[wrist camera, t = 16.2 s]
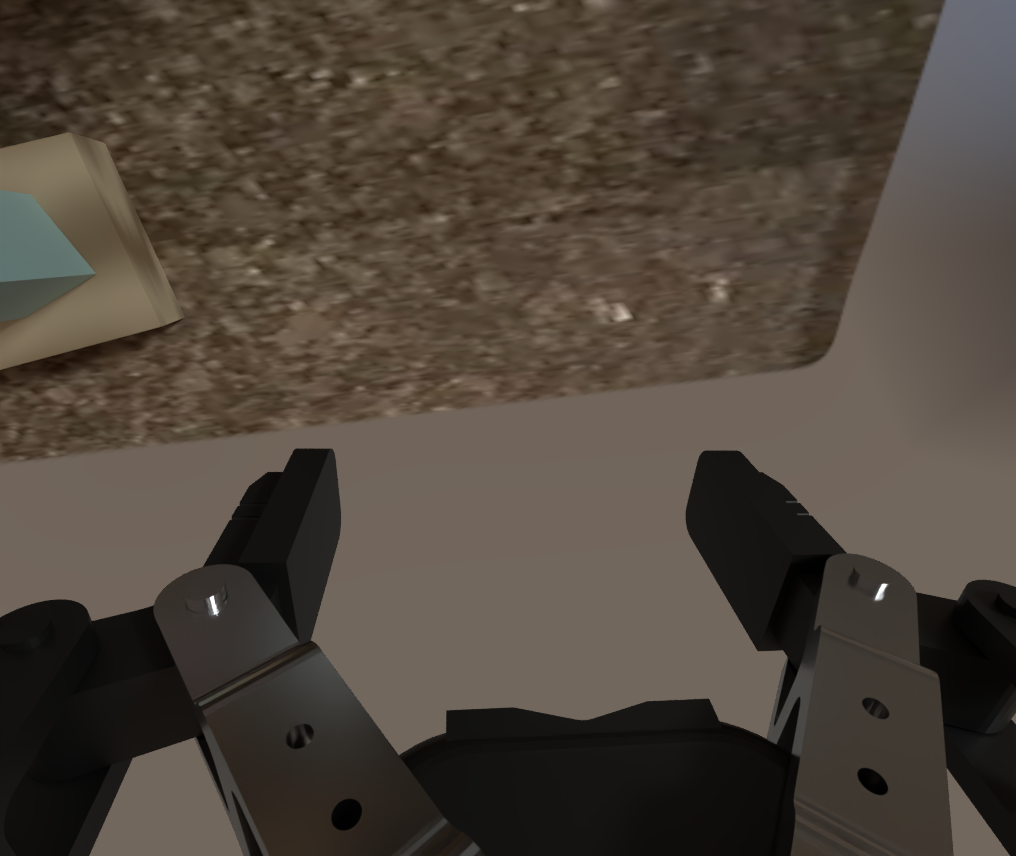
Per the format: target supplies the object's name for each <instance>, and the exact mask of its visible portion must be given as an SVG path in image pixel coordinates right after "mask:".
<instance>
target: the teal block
mask: <svg viewBox="0 0 1016 856" xmlns="http://www.w3.org/2000/svg"><path fill="white" fill-rule="evenodd" d="M95 274H96V273H95V272H94V270H93V269H92V268H91V267H90V266H89V264H88V263H87V262H86V261H85V259H84V258H83V257H82V256H81V255H80V253H79V252H78V251H77V250H76V249H75V247H74V246H73V245H72V244H71V243H70V241H69V240H68V239H67V238H66V236H65V235H64V234H63V233H62V232H61V230H60V229H59V228H58V227H57V226H56V224H55V223H54V222H53V221H52V220H51V218H50V217H49V216H48V215H47V213H46V212H45V211H44V210H43V209H42V207H41V206H40V205H39V204H38V203H37V201H36V200H35V199H34V198H33V197H32V195H31V194H25V193H18V192H11V191H3V190H0V322H2V321H8V320H13V319H18V318H24V317H27V316H28V315H30V314H31V313H33V312H35V311H36V310H38V309H40V308H41V307H43V306H45V305H46V304H48V303H49V302H51V301H53V300H54V299H56V298H58V297H59V296H61V295H63V294H64V293H66V292H67V291H69V290H71V289H72V288H74V287H76V286H77V285H79V284H81V283H82V282H84V281H85V280H87V279H89V278H90V277H92V276H94V275H95Z"/></svg>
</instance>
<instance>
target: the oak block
mask: <svg viewBox="0 0 1016 856" xmlns="http://www.w3.org/2000/svg"><path fill="white" fill-rule="evenodd" d="M0 190H3V191H11V192H18V193H25V194H31V195H32V197H33V198H34V199H35V200H36V201H37V203H38V204H39V205H40V206H41V207H42V209H43V210H44V211H45V212H46V213H47V215H48V216H49V217H50V218H51V220H52V221H53V222H54V223H55V224H56V226H57V227H58V228H59V229H60V230H61V232H62V233H63V234H64V235H65V236H66V238H67V239H68V240H69V241H70V243H71V244H72V245H73V246H74V247H75V249H76V250H77V251H78V252H79V253H80V255H81V256H82V257H83V258H84V259H85V261H86V262H87V263H88V264H89V266H90V267H91V268H92V269H93V270H94V272H95V273H96V274H95V275H94V276H92V277H90V278H89V279H87V280H85V281H84V282H82V283H81V284H79V285H77V286H76V287H74V288H72V289H71V290H69V291H67V292H66V293H64V294H63V295H61V296H59V297H58V298H56V299H54V300H53V301H51V302H49V303H48V304H46V305H45V306H43V307H41V308H40V309H38V310H36V311H35V312H33V313H31V314H30V315H28V316H27V317H24V318H18V319H13V320H8V321H2V322H0V370H1V369H5V368H9V367H13V366H16V365H20V364H24V363H28V362H31V361H35V360H39V359H42V358H46V357H50V356H54V355H57V354H61V353H65V352H69V351H72V350H76V349H80V348H83V347H87V346H91V345H95V344H98V343H102V342H106V341H110V340H113V339H117V338H121V337H124V336H128V335H132V334H136V333H139V332H143V331H147V330H151V329H154V328H158V327H162V326H164V325H167V324H170V323H172V322H175V321H177V320H180V319H183V318H185V317H184V315H183V313H182V311H181V309H180V306H179V304H178V302H177V300H176V298H175V295H174V293H173V291H172V289H171V287H170V285H169V282H168V280H167V278H166V276H165V274H164V271H163V269H162V267H161V265H160V263H159V261H158V258H157V256H156V254H155V252H154V250H153V247H152V245H151V243H150V241H149V239H148V237H147V234H146V232H145V230H144V228H143V226H142V223H141V221H140V219H139V217H138V215H137V213H136V210H135V208H134V206H133V204H132V202H131V199H130V197H129V195H128V193H127V191H126V189H125V186H124V184H123V182H122V180H121V178H120V175H119V173H118V171H117V169H116V167H115V165H114V162H113V160H112V158H111V156H110V154H109V151H108V149H107V147H106V145H105V143H102V142H99V141H96V140H93V139H89V138H86V137H83V136H80V135H76V134H73V133H70V132H69V133H64V134H60V135H56V136H52V137H48V138H43V139H39V140H35V141H31V142H26V143H22V144H18V145H14V146H9V147H5V148H1V149H0Z"/></svg>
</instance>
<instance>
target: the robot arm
mask: <svg viewBox="0 0 1016 856" xmlns="http://www.w3.org/2000/svg"><path fill="white" fill-rule="evenodd" d="M686 525H687V529H688V532H689V535H690V537H691V538H692V540H693V542H694V544H695V545H696V547H697V549H698V551H699V552H700V554H701V556H702V557H703V559H704V561H705V562H706V564H707V566H708V568H709V569H710V571H711V573H712V574H713V576H714V578H715V579H716V581H717V583H718V585H719V586H720V588H721V590H722V591H723V593H724V595H725V596H726V598H727V600H728V602H729V603H730V605H731V607H732V608H733V610H734V612H735V613H736V615H737V617H738V618H739V620H740V622H741V624H742V625H743V627H744V629H745V630H746V632H747V633H748V635H749V637H750V639H751V640H752V642H753V644H754V645H755V647H756V649H757V650H758V651H776V650H777V651H778V650H783V651H784V652H785V654H786V655H787V659H786V662H785V664H784V667H783V670H782V673H781V677H780V682H779V686H778V691H777V695H776V699H775V704H774V708H773V713H772V717H771V722H770V726H769V730H768V735H767V739H765V738H763V737H762V736H760V735H758V734H755V733H753V732H750V731H748V730H746V729H743V728H740V727H737V726H734V725H730V724H728V723H724V722H720V721H719V720H718V717H717V715H716V713H715V711H714V709H713V706H712V704H711V702H710V700H709V699H691V700H669V701H647V702H644V703H641V704H637V705H635V706H631V707H628V708H625V709H622V710H619V711H616V712H612V713H609V714H606V715H603V716H600V717H597V718H594V719H590V720H575V719H570V718H565V717H559V716H555V715H550V714H544V713H539V712H534V711H529V710H524V709H518V708H491V709H470V710H449V711H447V714H446V733H444V734H441V735H438V736H435V737H432V738H430V739H427V740H426V741H423V742H421V743H419V744H417V745H415V746H413V747H412V748H410V749H408V750H407V751H405V752H403V753H402V754H400V755H398V754H397V752H396V751H395V750H394V748H393V747H392V746H391V744H390V743H389V741H388V740H387V739H386V738H385V736H384V734H383V733H382V732H381V730H380V729H379V728H378V726H377V725H376V724H375V722H374V721H373V720H372V718H371V717H370V715H369V714H368V713H367V711H366V710H365V709H364V707H363V706H362V704H361V703H360V702H359V700H358V699H357V698H356V696H355V695H354V694H353V692H352V691H351V689H350V688H349V687H348V685H347V684H346V683H345V681H344V680H343V678H342V677H341V676H340V674H339V673H338V672H337V670H336V669H335V668H334V666H333V665H332V663H331V662H330V661H329V659H328V658H327V657H326V655H325V654H324V652H323V651H322V650H321V649H320V647H319V646H318V645H317V644H316V643H314V642H313V641H311V637H312V634H313V630H314V626H315V623H316V619H317V616H318V612H319V609H320V605H321V601H322V598H323V594H324V591H325V587H326V584H327V580H328V576H329V573H330V569H331V566H332V562H333V558H334V555H335V551H336V548H337V544H338V540H339V536H340V528H341V508H340V498H339V488H338V478H337V469H336V459H335V454H334V451H333V449H295V450H294V451H293V453H292V455H291V457H290V459H289V461H288V463H287V465H286V467H285V469H284V471H283V472H267V473H266V474H265V475H263V476H262V477H261V478H260V479H258V480H257V481H255V483H253V484H252V485H250V486H249V488H248V489H247V491H246V493H245V494H244V496H243V498H242V500H241V501H240V506H238V507H237V508H236V510H235V512H234V514H233V515H232V520H230V521H229V522H228V524H227V526H226V528H225V529H224V531H223V533H222V534H221V536H220V538H219V540H218V542H217V543H216V545H215V547H214V548H213V550H212V552H211V554H210V555H209V557H208V559H207V561H206V562H205V564H204V566H203V567H201V568H198V569H195V570H193V571H190V572H188V573H186V574H183V575H182V576H180V577H179V578H177V579H175V580H174V581H172V582H171V583H170V584H169V585H167V586H166V587H165V588H164V589H163V590H162V592H161V593H160V594H159V595H158V597H157V599H156V601H155V604H154V605H153V606H150V607H147V608H144V609H141V610H137V611H133V612H129V613H125V614H120V615H116V616H112V617H108V618H104V619H99V620H96V621H91V618H90V616H89V613H88V611H87V609H86V608H85V607H84V606H83V605H82V604H80V603H78V602H75V601H72V600H49V601H43V602H38V603H35V604H31V605H28V606H24V607H22V608H19V609H17V610H14V611H12V612H10V613H8V614H6V615H4V616H2V617H0V856H89V855H90V853H91V850H92V848H93V846H94V844H95V841H96V839H97V837H98V834H99V832H100V830H101V828H102V826H103V823H104V821H105V819H106V817H107V815H108V812H109V810H110V808H111V806H112V803H113V801H114V799H115V797H116V794H117V792H118V790H119V787H120V785H121V783H122V781H123V779H124V776H125V774H126V772H127V770H128V767H129V765H130V763H131V761H132V758H134V757H137V756H140V755H143V754H146V753H149V752H152V751H155V750H158V749H161V748H164V747H167V746H170V745H173V744H176V743H179V742H182V741H185V740H188V739H191V738H195V741H196V743H197V745H198V748H199V750H200V752H201V755H202V757H203V759H204V761H205V764H206V766H207V768H208V771H209V773H210V776H211V778H212V780H213V782H214V785H215V787H216V789H217V792H218V794H219V796H220V799H221V801H222V803H223V806H224V808H225V810H226V813H227V815H228V817H229V820H230V822H231V824H232V827H233V829H234V831H235V834H236V837H237V839H238V842H239V845H240V847H241V850H242V853H243V856H954V855H953V842H952V830H951V817H950V805H949V793H948V780H947V769H948V770H949V771H950V773H951V774H952V776H953V777H954V778H955V780H956V781H957V782H958V784H959V785H960V787H961V788H962V790H963V791H964V792H965V794H966V795H967V796H968V798H969V799H970V801H971V802H972V803H973V805H974V806H975V808H976V809H977V810H978V812H979V813H980V814H981V816H982V817H983V819H984V820H985V821H986V823H987V824H988V826H989V827H990V828H991V830H992V831H993V833H994V834H995V835H996V837H997V838H998V839H999V841H1000V842H1001V843H1002V845H1003V846H1004V848H1005V849H1006V851H1007V852H1008V853H1009V855H1010V856H1016V724H1015V723H1014V722H1013V721H1012V720H1011V719H1012V717H1013V716H1014V715H1015V713H1016V587H1014V586H1011V585H1008V584H1005V583H1001V582H997V581H991V580H976V581H972V582H970V583H968V584H967V585H966V587H965V589H964V590H963V592H962V594H961V596H960V598H959V599H958V601H956V600H951V599H946V598H941V597H936V596H932V595H927V594H922V593H916V591H915V589H914V587H913V586H912V585H911V583H910V582H909V581H908V580H907V579H906V578H905V577H904V576H903V575H901V574H900V573H899V572H897V571H896V570H894V569H893V568H891V567H890V566H888V565H886V564H884V563H882V562H880V561H877V560H875V559H872V558H869V557H866V556H862V555H858V554H850V553H846V552H845V551H844V550H843V548H842V547H841V546H840V545H839V544H838V543H837V542H836V541H835V540H834V539H833V538H832V537H831V536H830V535H829V534H828V532H827V531H826V530H825V529H824V528H823V527H822V526H821V525H820V524H819V523H818V522H817V521H816V520H815V519H814V517H813V516H809V512H808V511H807V510H806V509H805V508H804V507H803V506H802V505H801V504H800V503H797V499H796V498H795V497H794V496H793V495H792V494H791V493H790V492H789V491H788V490H787V489H786V488H785V487H784V486H783V485H782V484H780V483H779V482H777V481H776V480H774V479H772V478H771V477H769V476H767V475H766V474H764V473H763V472H759V471H758V470H757V469H756V468H755V467H754V466H753V465H752V464H751V463H750V461H749V460H748V459H747V458H746V457H745V456H744V455H743V454H742V453H741V452H740V451H703V452H702V453H701V455H700V456H699V459H698V462H697V466H696V470H695V474H694V479H693V483H692V487H691V491H690V495H689V499H688V503H687V508H686Z"/></svg>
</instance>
